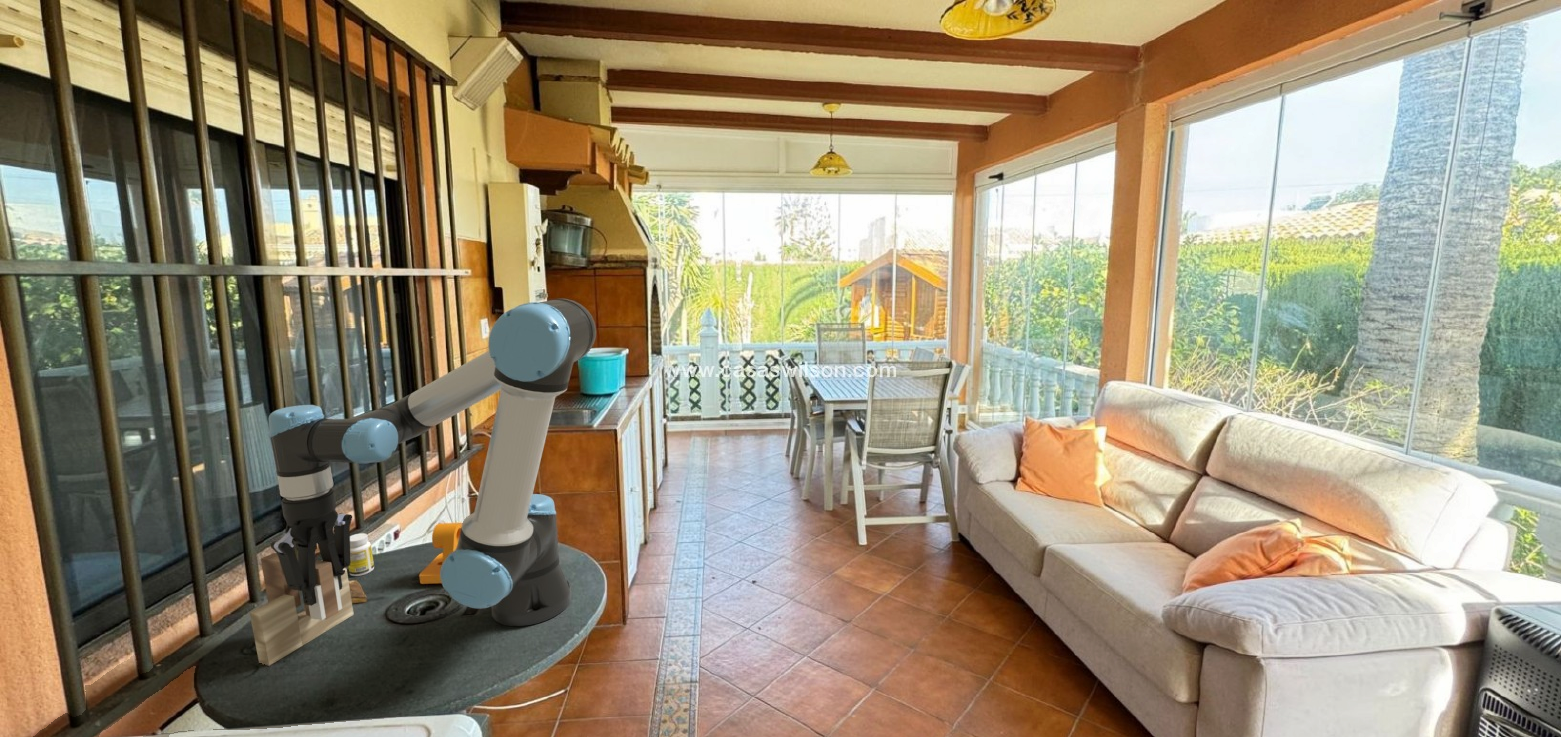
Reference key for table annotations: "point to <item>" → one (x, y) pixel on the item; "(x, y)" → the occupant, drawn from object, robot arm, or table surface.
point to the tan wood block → (279, 587)
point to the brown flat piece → (356, 592)
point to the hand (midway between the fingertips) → (326, 613)
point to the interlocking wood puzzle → (292, 625)
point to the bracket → (448, 540)
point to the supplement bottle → (360, 555)
